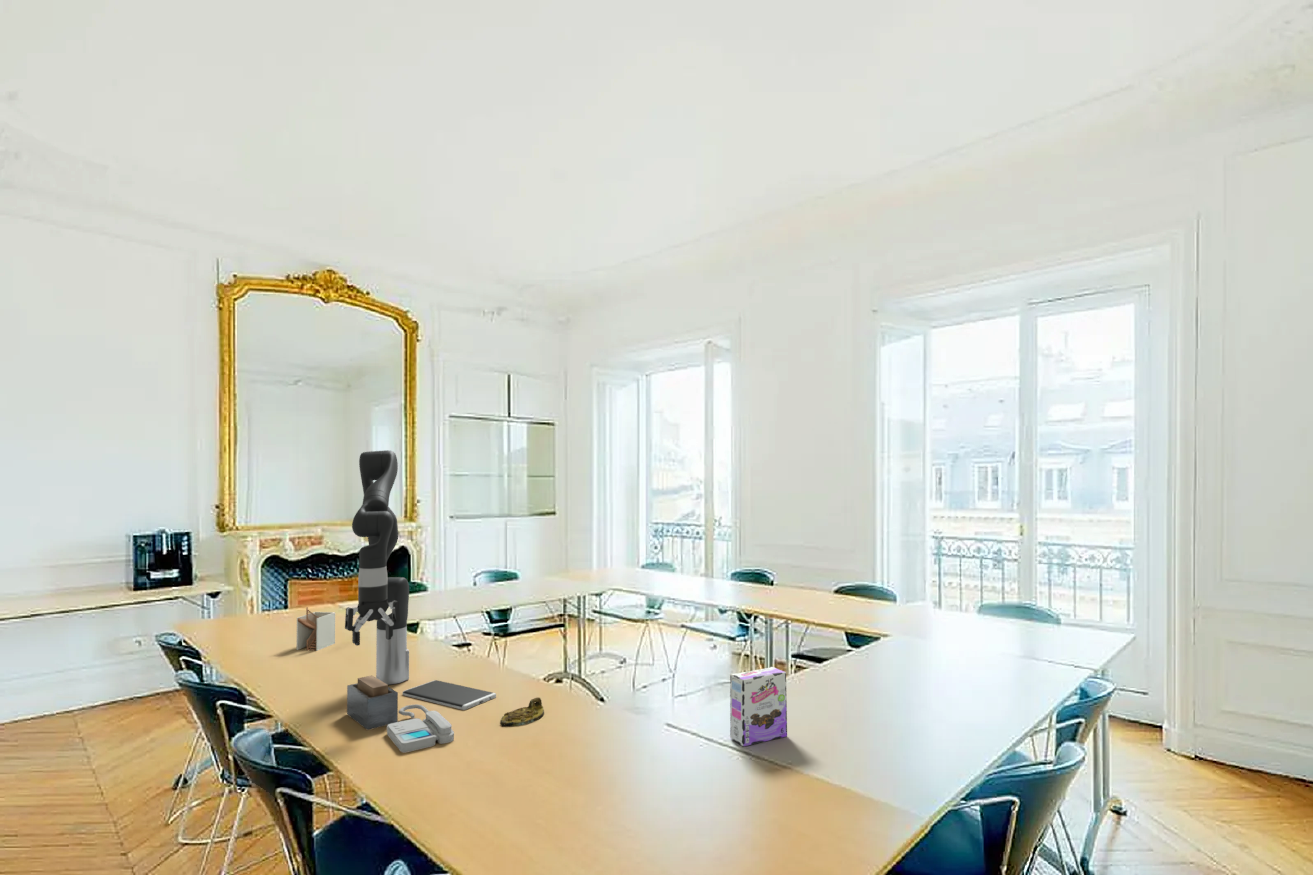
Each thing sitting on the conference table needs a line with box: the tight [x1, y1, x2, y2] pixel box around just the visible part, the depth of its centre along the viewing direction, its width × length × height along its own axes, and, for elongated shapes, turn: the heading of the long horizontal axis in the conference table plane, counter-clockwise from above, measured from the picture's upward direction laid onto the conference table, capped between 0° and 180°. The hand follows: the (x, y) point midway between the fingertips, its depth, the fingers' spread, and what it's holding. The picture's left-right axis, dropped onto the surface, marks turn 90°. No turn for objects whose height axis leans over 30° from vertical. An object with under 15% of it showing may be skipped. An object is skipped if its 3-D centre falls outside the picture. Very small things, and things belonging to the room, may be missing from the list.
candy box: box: [729, 666, 788, 747], centre depth 177 cm, size 14×6×16 cm, turn 117°
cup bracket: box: [346, 682, 399, 731], centre depth 193 cm, size 8×16×8 cm, turn 42°
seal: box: [499, 696, 545, 727], centre depth 192 cm, size 9×5×15 cm
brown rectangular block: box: [357, 675, 389, 698], centre depth 193 cm, size 4×12×5 cm, turn 42°
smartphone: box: [402, 679, 497, 711], centre depth 211 cm, size 13×27×2 cm, turn 59°
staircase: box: [296, 607, 336, 652], centre depth 270 cm, size 9×11×17 cm
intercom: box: [386, 704, 455, 754], centre depth 183 cm, size 13×4×25 cm
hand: (372, 642), depth 193 cm, fingers open, 8 cm apart
